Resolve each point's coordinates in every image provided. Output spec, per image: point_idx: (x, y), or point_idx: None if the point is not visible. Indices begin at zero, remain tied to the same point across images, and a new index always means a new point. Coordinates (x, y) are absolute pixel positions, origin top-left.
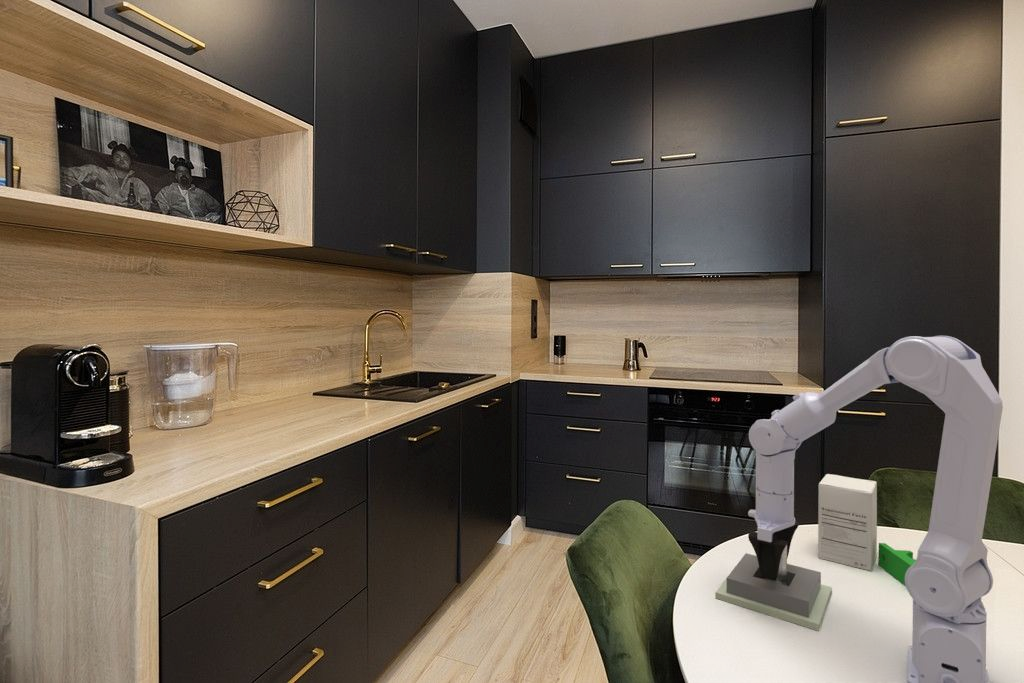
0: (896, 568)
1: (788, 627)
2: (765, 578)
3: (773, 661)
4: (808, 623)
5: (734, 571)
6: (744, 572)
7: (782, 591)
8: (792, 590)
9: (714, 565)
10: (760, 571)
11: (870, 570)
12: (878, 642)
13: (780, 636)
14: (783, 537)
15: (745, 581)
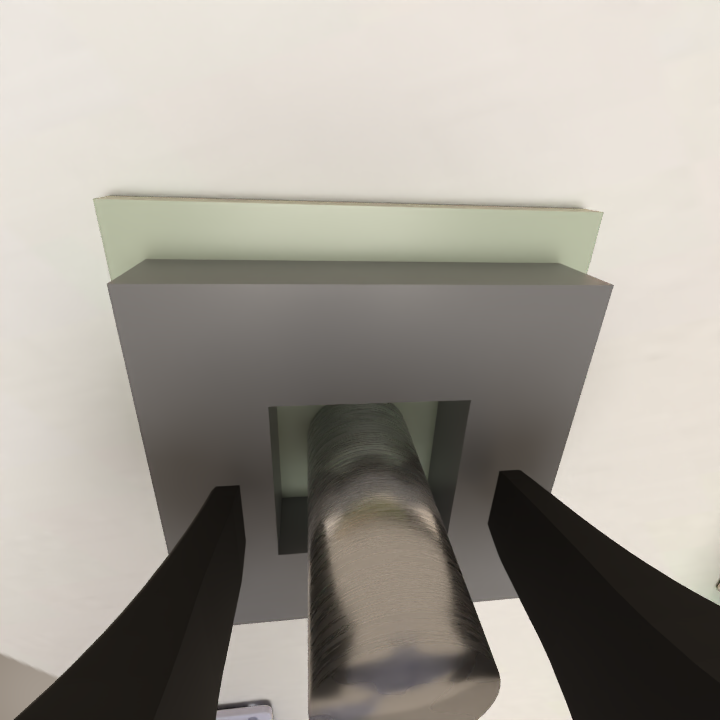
0: None
1: (127, 507)
2: (323, 447)
3: None
4: None
5: (259, 300)
6: (290, 356)
7: None
8: (244, 573)
9: (556, 55)
10: (203, 507)
11: (717, 588)
12: (251, 662)
13: (32, 503)
14: (588, 685)
15: (160, 394)
